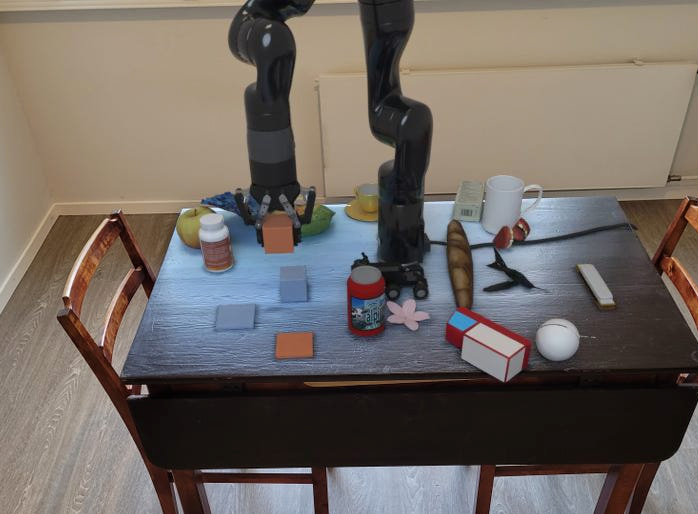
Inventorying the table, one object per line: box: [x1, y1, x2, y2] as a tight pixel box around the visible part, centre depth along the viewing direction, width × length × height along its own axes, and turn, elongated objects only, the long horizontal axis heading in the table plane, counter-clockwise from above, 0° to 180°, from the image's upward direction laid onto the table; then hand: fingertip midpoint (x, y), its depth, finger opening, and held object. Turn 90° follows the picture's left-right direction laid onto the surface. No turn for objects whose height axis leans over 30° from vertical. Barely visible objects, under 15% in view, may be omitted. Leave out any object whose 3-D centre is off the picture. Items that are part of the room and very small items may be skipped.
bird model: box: [482, 246, 546, 292], centre depth 139 cm, size 5×12×10 cm
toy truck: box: [444, 306, 533, 383], centre depth 120 cm, size 6×15×7 cm
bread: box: [445, 219, 475, 311], centre depth 142 cm, size 38×5×5 cm, turn 177°
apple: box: [175, 205, 218, 249], centre depth 151 cm, size 10×10×8 cm
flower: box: [385, 298, 431, 331], centre depth 130 cm, size 10×10×2 cm
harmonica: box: [575, 263, 617, 311], centre depth 136 cm, size 15×3×2 cm, turn 4°
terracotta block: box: [262, 214, 295, 255], centre depth 121 cm, size 5×5×5 cm
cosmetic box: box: [452, 179, 487, 223], centre depth 162 cm, size 6×4×12 cm
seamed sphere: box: [534, 318, 597, 362], centre depth 118 cm, size 10×7×7 cm
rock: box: [200, 191, 269, 219], centre depth 155 cm, size 15×17×2 cm
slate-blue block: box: [279, 265, 308, 303], centre depth 136 cm, size 5×5×5 cm
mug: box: [481, 174, 543, 235], centre depth 153 cm, size 12×8×10 cm, turn 91°
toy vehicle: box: [350, 251, 430, 301], centre depth 136 cm, size 8×15×9 cm, turn 93°
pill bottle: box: [198, 212, 235, 274], centre depth 143 cm, size 6×6×11 cm
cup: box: [344, 182, 378, 222], centre depth 162 cm, size 12×12×5 cm
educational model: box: [269, 201, 336, 237], centre depth 156 cm, size 13×16×5 cm
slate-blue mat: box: [215, 303, 257, 331], centre depth 132 cm, size 7×7×1 cm
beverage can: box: [346, 266, 386, 338], centre depth 125 cm, size 7×7×12 cm
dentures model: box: [491, 216, 531, 250], centre depth 149 cm, size 6×4×8 cm
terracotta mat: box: [275, 331, 314, 360], centre depth 125 cm, size 6×6×1 cm
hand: (280, 244), depth 122 cm, fingers closed on terracotta block, 5 cm apart
